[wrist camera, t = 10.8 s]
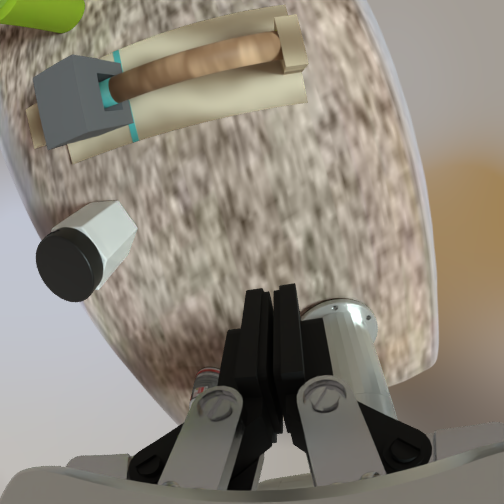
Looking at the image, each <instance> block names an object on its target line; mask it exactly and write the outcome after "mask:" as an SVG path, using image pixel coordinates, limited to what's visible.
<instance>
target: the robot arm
mask: <svg viewBox="0 0 504 504" xmlns="http://www.w3.org/2000/svg"><path fill="white" fill-rule="evenodd" d="M377 332H378V326H377V321H376V318H375V316H374V314H373V312H372V311H371V310H370V309H369V308H368V307H367V306H366V305H364V304H363V303H360V302H358V301H355V300H350V299H336V300H330V301H326V302H323V303H321V304H319V305H316V306H315V307H313V308H312V309H310V310H309V311H307V312H306V313H305V314H304V315H303V316H302V318H300V311H299V304H298V298H297V291H296V285H295V283H294V284H288V285H281V286H279V290H276V291H274V311H273V306H272V301H271V297H270V293H269V292H264V291H263V289H262V288H260V289H253V290H247V291H246V296H245V303H244V310H243V317H242V325H241V329H232V330H228V332H227V336H226V341H225V347H224V352H223V357H222V362H221V368H220V373H219V378H218V384H217V386H215V387H212V388H208V389H207V390H205V391H203V392H201V393H200V394H199V395H198V396H197V397H196V398H195V400H194V401H193V403H192V405H191V408H190V410H189V412H188V415H187V417H186V419H185V422H184V423H183V424H181V425H180V426H178V427H177V428H175V429H174V430H172V431H171V432H169V433H167V434H166V435H165V436H163V437H161V438H160V439H158V440H157V441H155V442H154V443H152V444H150V445H149V446H147V447H146V448H144V449H142V450H141V451H139V452H138V453H137V454H136V455H134V456H130V455H129V454H116V455H93V456H77V457H75V458H73V459H71V460H70V461H69V463H68V464H67V466H66V467H61V466H41V467H33V468H28V469H25V470H22V471H20V472H19V473H17V474H16V475H15V476H14V477H13V478H12V479H11V481H10V482H9V484H8V485H7V487H6V488H5V490H4V492H3V494H2V496H1V498H0V504H504V424H503V423H500V422H490V423H484V424H479V425H473V426H466V427H458V428H450V429H441V430H436V431H435V433H431V434H424V433H423V432H421V431H420V430H418V429H415V428H413V427H411V426H409V425H407V424H404V423H402V422H400V421H398V420H397V417H396V413H395V410H394V406H393V403H392V400H391V397H390V393H389V390H388V387H387V384H386V380H385V377H384V374H383V371H382V368H381V365H380V362H379V359H378V356H377V353H376V350H375V347H374V344H373V343H374V341H375V339H376V336H377ZM283 417H284V421H285V425H286V429H287V432H288V433H291V437H292V441H293V444H294V445H295V446H297V447H298V448H299V449H301V450H302V451H304V452H305V453H306V455H307V460H308V464H309V468H310V473H307V474H301V475H295V476H288V477H282V478H276V479H270V480H265V481H263V482H260V483H258V482H259V478H260V474H261V470H262V465H263V461H264V452H265V451H267V450H268V449H269V448H270V447H271V446H272V443H276V442H277V434H281V433H283Z"/></svg>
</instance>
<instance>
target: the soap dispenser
mask: <svg viewBox="0 0 504 504" xmlns="http://www.w3.org/2000/svg"><path fill="white" fill-rule="evenodd" d="M84 9H85V3H84V0H0V24H7V25H15V26H22V27H28V28H35V29H40V30H46V31H51V32H56V33H65V32H67V31H69V30H71V29H72V28H74V27H75V26H76V25H77V24H78V22H79V21H80V19H81V18H82V16H83V13H84Z"/></svg>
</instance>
